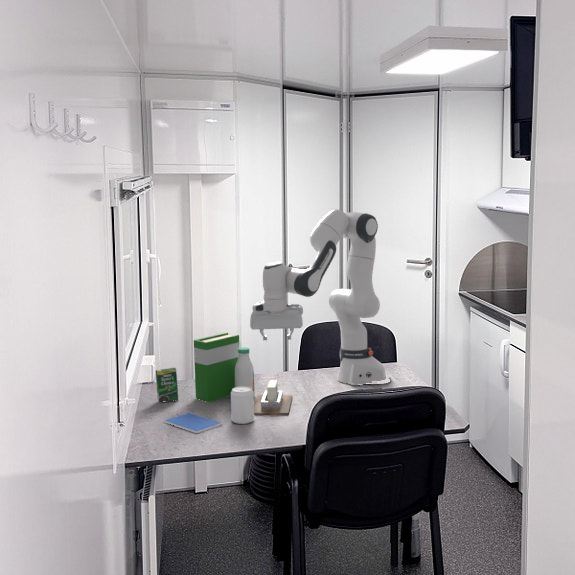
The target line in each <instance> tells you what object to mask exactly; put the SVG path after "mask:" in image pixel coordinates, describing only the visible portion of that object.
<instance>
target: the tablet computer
mask: <svg viewBox="0 0 575 575" xmlns="http://www.w3.org/2000/svg"><path fill="white" fill-rule="evenodd" d="M163 421H164V422H166V423H168V424H167V425H170V424H171V425H170V426H173V425H174V427H176V428H178V427H179V429H181V428H182V430H184V429H185V431H187V432H190V433H193V434H197V433H198V434H200V433H204V432H207V431H210V430H213V429H216V428H219V427H221V426H223V423H222V422H220V421H218V420H217V421H216V420H213V419H210V418H207V417H203V416H200V415H198V414H195V413H191V412H187V413H183V414H181V415H177V416H173V417H170V418H167V419H164V420H163ZM166 423H165V424H166Z"/></svg>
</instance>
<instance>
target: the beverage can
mask: <svg viewBox="0 0 575 575" xmlns="http://www.w3.org/2000/svg"><path fill="white" fill-rule="evenodd" d="M254 403H255V399H254V397H253V391H252V388H250V387H246V386H240V387H235V388H233V389H232V392H231V395H230V406H231V408H230V411H231V422H232V423H235V424H237V425H246V423H247V424H250V423H251V422H253V421H254V420H255V415H254ZM249 422H250V423H249Z"/></svg>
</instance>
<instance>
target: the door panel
mask: <svg viewBox="0 0 575 575" xmlns="http://www.w3.org/2000/svg"><path fill="white" fill-rule="evenodd" d="M278 386H279V385H278V379H270V380H269V382H268V384H267V387H266V391H267V401H277V398H278V391H279V390H278Z"/></svg>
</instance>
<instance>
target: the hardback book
mask: <svg viewBox="0 0 575 575" xmlns="http://www.w3.org/2000/svg"><path fill="white" fill-rule="evenodd" d="M238 348H240V335H239V334H234V335H230V334H229V332H223V333H219V334H218V333H217V334H215V335H210V336H206V337H201V338H197V339H193V359H194V360H193V362H194V382H195V384H194V385H195V399H196V398H197V399H196V400H198V399H200V400H199V401H202V400H203V401H202V402H205V401H206V402H205V403H211V402H214V401H218V400H221V399H223V398H227V397H231V392H232V389H233V388H235V365H236V363H237V360H238V357H239V354H238Z"/></svg>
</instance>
